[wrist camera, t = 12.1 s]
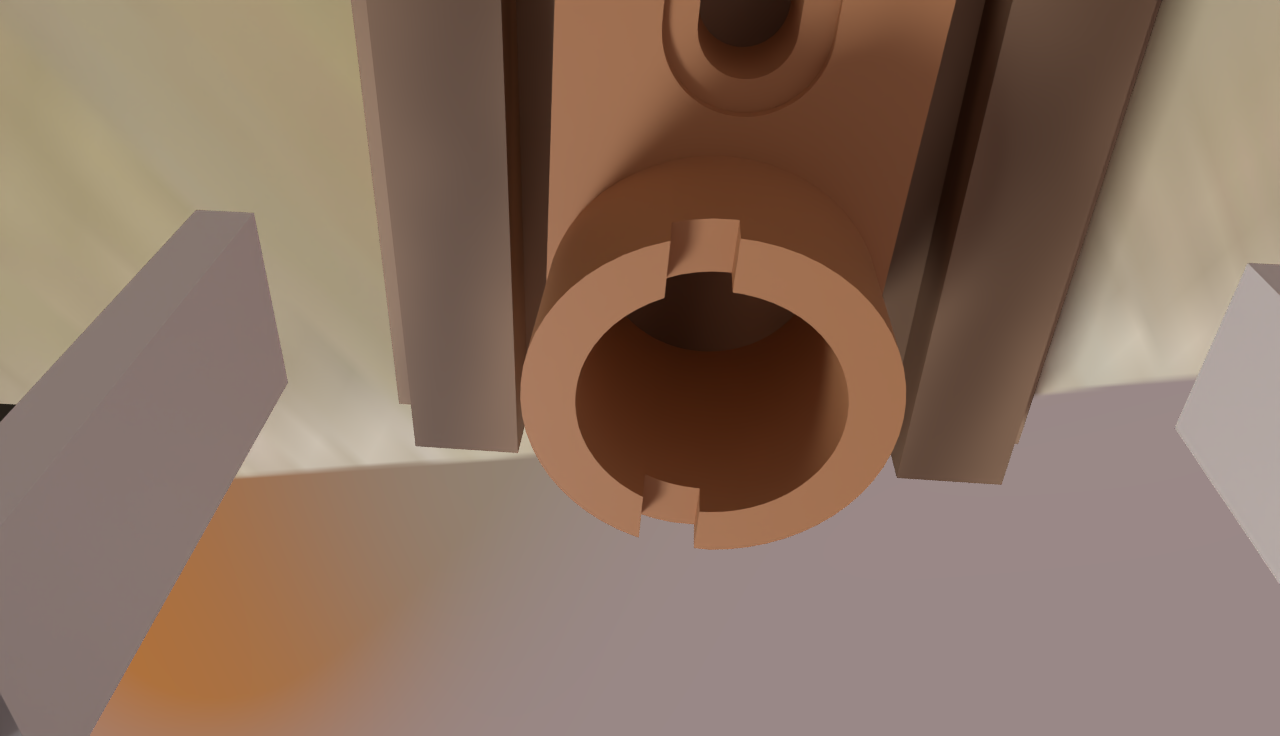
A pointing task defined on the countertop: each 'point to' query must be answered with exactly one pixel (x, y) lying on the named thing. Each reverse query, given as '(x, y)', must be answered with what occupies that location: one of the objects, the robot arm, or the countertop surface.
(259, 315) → the robot arm
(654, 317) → the cradle
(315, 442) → the countertop surface
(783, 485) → the bracket
